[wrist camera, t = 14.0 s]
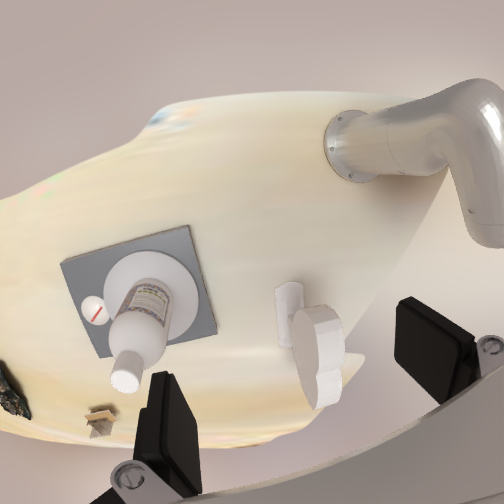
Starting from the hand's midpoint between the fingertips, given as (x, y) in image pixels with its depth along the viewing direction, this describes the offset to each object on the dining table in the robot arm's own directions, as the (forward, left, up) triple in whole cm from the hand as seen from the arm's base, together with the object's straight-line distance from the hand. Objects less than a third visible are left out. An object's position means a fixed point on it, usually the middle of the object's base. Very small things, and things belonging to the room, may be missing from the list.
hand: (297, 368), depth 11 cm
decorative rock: (+61, +23, -37) cm, 75 cm away
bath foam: (+13, +8, -33) cm, 36 cm away
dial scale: (+16, +8, -36) cm, 40 cm away
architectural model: (+35, +32, -37) cm, 60 cm away
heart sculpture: (-8, +19, -36) cm, 42 cm away
